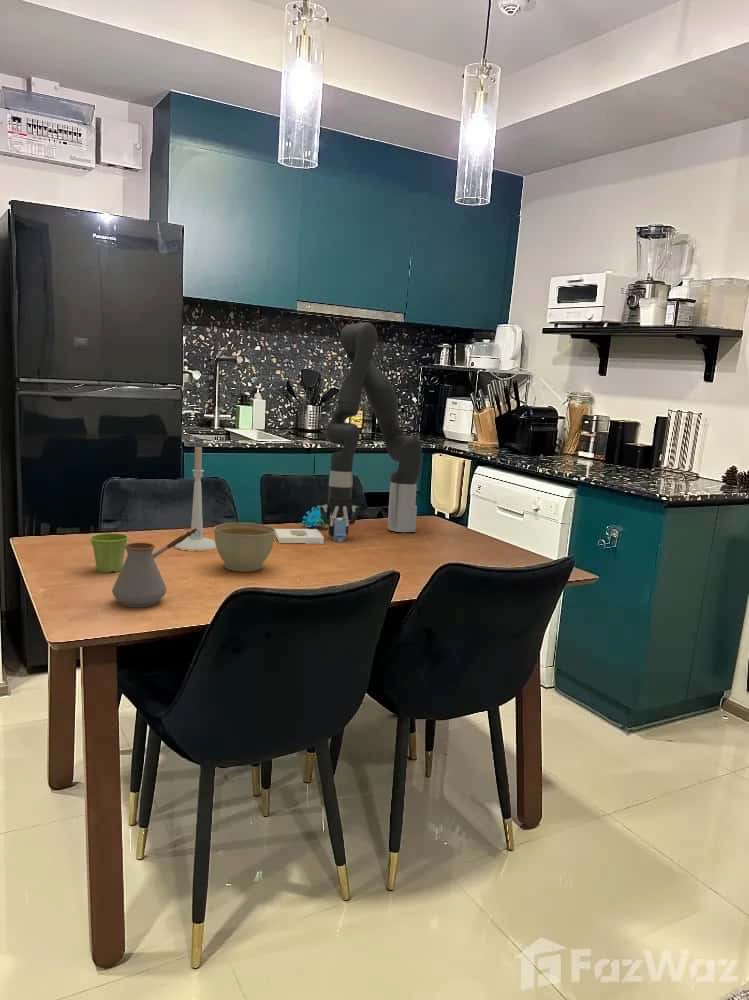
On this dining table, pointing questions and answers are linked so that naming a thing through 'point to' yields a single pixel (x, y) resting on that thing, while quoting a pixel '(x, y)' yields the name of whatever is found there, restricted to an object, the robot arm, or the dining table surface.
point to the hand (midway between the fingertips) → (338, 536)
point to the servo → (339, 529)
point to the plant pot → (109, 551)
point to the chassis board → (291, 536)
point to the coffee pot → (142, 575)
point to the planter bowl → (243, 545)
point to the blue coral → (314, 518)
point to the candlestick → (197, 512)
